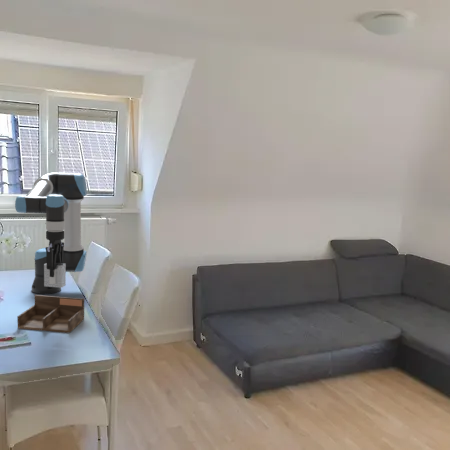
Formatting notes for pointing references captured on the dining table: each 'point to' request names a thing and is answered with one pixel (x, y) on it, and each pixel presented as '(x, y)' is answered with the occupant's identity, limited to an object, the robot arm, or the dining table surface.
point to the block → (59, 275)
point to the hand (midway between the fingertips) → (55, 282)
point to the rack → (53, 314)
